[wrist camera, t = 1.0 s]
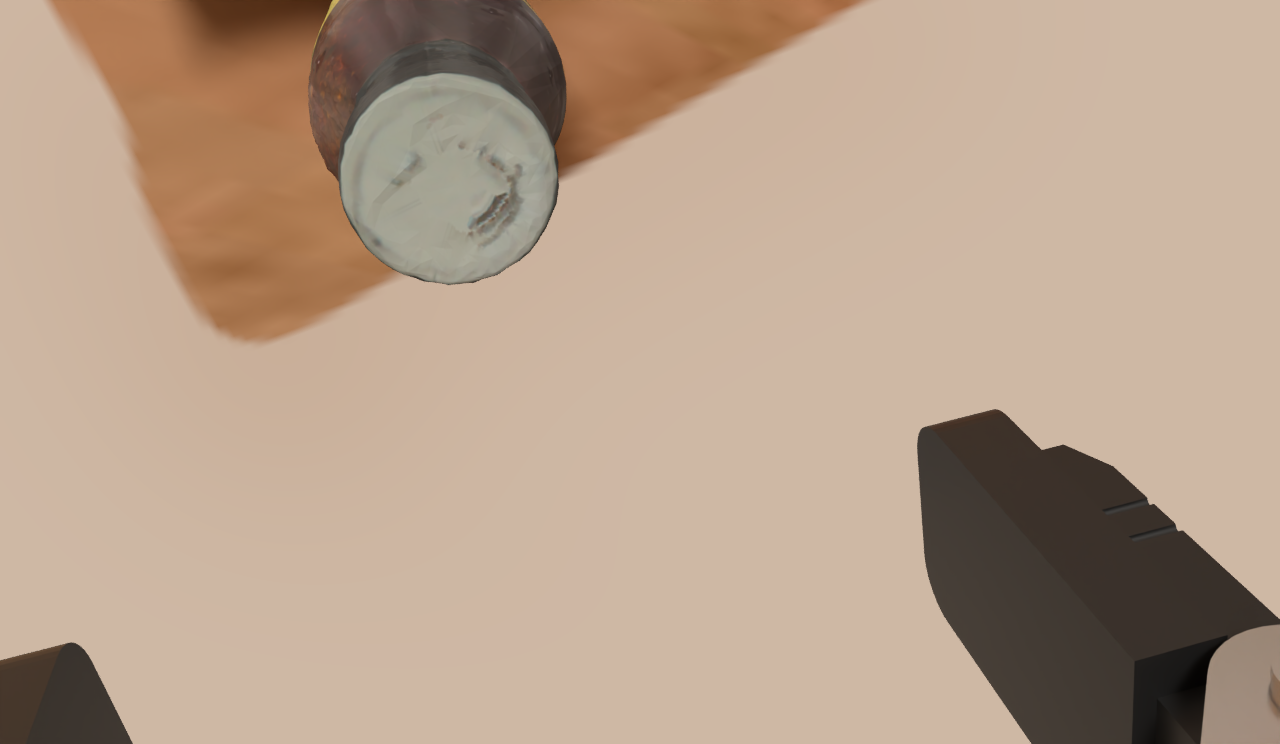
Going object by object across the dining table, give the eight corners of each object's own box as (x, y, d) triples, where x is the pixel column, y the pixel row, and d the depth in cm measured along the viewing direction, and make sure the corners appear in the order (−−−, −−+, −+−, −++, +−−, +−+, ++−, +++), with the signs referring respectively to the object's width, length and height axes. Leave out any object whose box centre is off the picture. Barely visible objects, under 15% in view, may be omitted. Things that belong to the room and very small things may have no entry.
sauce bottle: (545, 84, 41) (676, 302, 23) (374, 147, 41) (376, 415, 23) (477, -110, 38) (568, -27, 20) (291, -44, 38) (220, 99, 20)
